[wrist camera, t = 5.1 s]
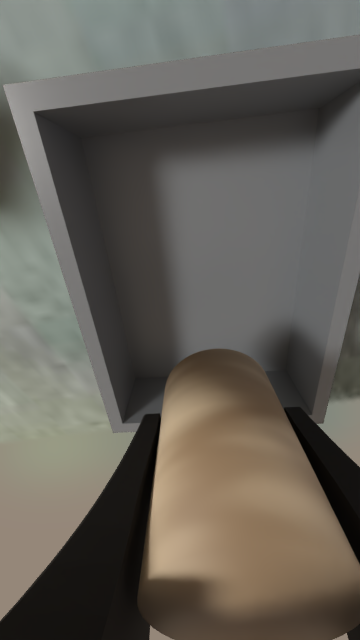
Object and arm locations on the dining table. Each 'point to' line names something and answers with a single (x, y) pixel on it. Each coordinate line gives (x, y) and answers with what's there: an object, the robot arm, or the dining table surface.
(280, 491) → the wooden cylinder
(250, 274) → the tote
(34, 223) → the dining table surface
